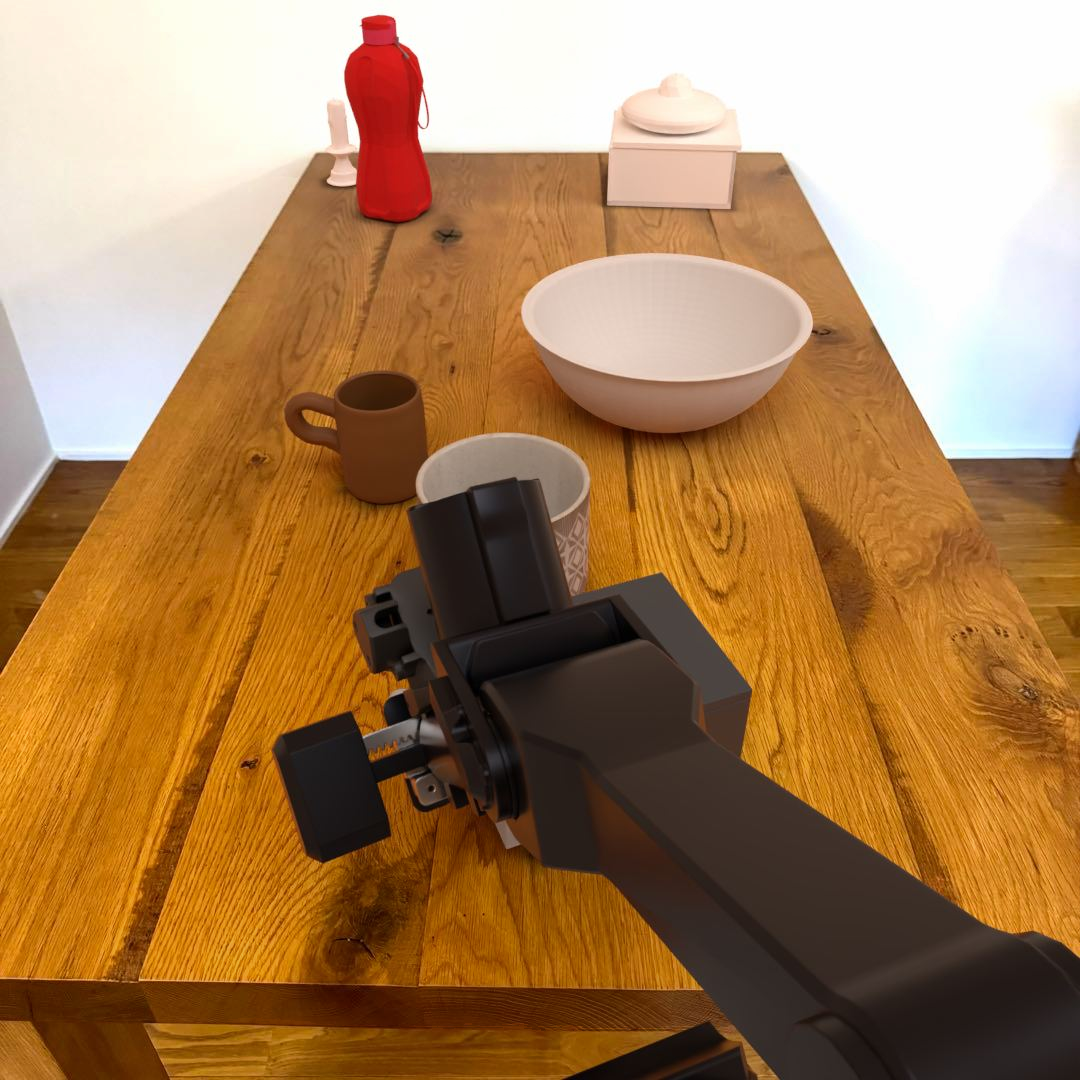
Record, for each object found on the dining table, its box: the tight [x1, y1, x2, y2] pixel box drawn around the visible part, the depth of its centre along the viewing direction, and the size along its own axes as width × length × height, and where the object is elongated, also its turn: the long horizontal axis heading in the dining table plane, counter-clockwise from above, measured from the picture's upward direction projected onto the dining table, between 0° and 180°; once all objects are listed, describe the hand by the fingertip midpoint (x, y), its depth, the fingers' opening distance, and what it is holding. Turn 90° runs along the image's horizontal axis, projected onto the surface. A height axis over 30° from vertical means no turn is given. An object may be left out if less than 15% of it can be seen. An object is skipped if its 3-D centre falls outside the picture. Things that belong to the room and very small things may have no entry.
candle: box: [324, 97, 358, 188], centre depth 153 cm, size 5×5×12 cm
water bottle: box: [343, 14, 433, 223], centre depth 138 cm, size 9×11×25 cm
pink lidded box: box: [606, 72, 743, 210], centre depth 149 cm, size 18×18×16 cm
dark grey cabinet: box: [571, 571, 753, 759], centre depth 66 cm, size 14×12×9 cm
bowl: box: [520, 252, 814, 434], centre depth 101 cm, size 27×27×10 cm
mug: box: [284, 369, 429, 505], centre depth 90 cm, size 12×8×9 cm, turn 90°
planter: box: [416, 432, 591, 596], centre depth 79 cm, size 13×13×10 cm
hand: (435, 732), depth 59 cm, fingers closed
